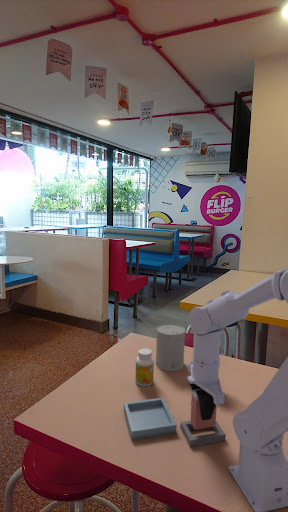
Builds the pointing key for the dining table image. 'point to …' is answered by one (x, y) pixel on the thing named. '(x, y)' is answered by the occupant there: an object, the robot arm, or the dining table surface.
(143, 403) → the parts tray
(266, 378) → the dining table surface
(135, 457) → the dining table surface
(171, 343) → the speckled stone cylinder
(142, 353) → the supplement bottle
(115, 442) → the dining table surface
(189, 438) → the grey rectangular frame
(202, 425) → the red and grey block
